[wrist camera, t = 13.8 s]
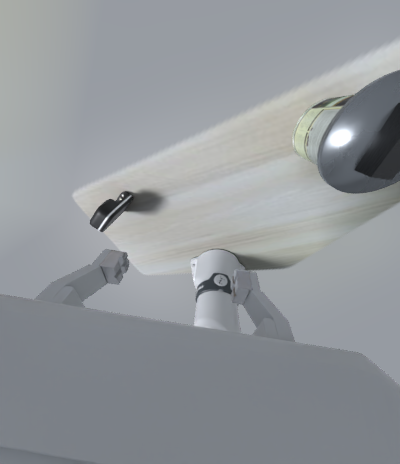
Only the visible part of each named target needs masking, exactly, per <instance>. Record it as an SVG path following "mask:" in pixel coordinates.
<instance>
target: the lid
mask: <svg viewBox="0 0 400 464" xmlns="http://www.w3.org/2000/svg"><path fill="white" fill-rule="evenodd" d="M317 165H318V170H319V173H320V175H321V177H322V178H323V179H324V181H325V182H326V183H328V184H329V185H330V186H332V187H334V188H335V189H337V190H339V191H342V192H346V193H366V192H371V191H376V190H379V189H382V188H385V187H387V186H390V185H392V184H394V183H396V182H398V181H400V70H398V71H395V72H392V73H389V74H387V75H385V76H383V77H381V78H379V79H377V80H375V81H373V82H372V83H370V84H369V85H367V86H365V87H364V88H363V89H361V90H360V91H359V92H358V93H356V94H355V95H354V96H353V97H352V98H351V99H350V100H348V101H347V102H346V103H345V105H344V106H343V107H342V108H341V109H340V110H339V111H338V112H337V114H336V115H335V116H334V118H333V119H332V121H331V122H330V124H329V125H328V127H327V129H326V130H325V132H324V134H323V137H322V139H321V142H320V145H319V148H318V154H317Z"/></svg>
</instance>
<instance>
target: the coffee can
mask: <svg viewBox="0 0 400 464" xmlns="http://www.w3.org/2000/svg"><path fill="white" fill-rule="evenodd" d="M353 96H354V95H350V96H344V97H338V98H328V99H324V100H322V101H319V102H317V103H316V104H314V105H313V106H311V107H310V108H309V109H308V110H307V111H306V112H305V113H304V114H303V115H302V116H301V118H300V119H299V121H298V122H297V124H296V127H295V129H294V132H293V138H292V143H293V148H294V150H295V152H296V153H297V154H298V155H299V156H300V157H301V158H304V159H307V160H308V161H310V162H312V163H314V164H316V165H317V154H318V148H319V145H320V142H321V139H322V137H323V134H324V132H325V130H326V129H327V127H328V125H329V124H330V122H331V121H332V119H333V118H334V116H335V115H336V114H337V112H338V111H339V110H340V109H341V108H342V107H343V106H344V105H345V103H346V102H347V101H348V100H350V99H351V98H352V97H353Z"/></svg>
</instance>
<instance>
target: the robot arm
mask: <svg viewBox="0 0 400 464" xmlns="http://www.w3.org/2000/svg"><path fill="white" fill-rule="evenodd" d="M127 256H128V255H127V253H126V252H121V251H115V250H109V249H105V250H104V251H103V252H102V253H101V254H100V255H99V257H98V258H97V259H96V260H95V261H94V262H93V263H92V265H88V266H85V267H83V268H81V269H79V270H77V271H75V272H73V273H71V274H69V275H66V276H64V277H62V278H60V279H58V280H56V281H54V282H52V283H51V284H50V285H49V286H48V287H47V288H45V290H44V291H42V292H41V293H40V294H39V295H38V296H37V297H36V299H27V298H22V297H16V296H10V295H4V294H0V464H400V385H399V384H397V383H396V382H395V381H394V380H393V379H392V378H391V377H390V376H388V375H387V374H386V373H385V372H384V371H383V370H382V369H380V368H379V367H378V366H377V365H376V364H375V363H373V362H372V361H371V360H369V359H368V358H367V357H366V356H364V355H363V354H360V353H358V352H353V351H347V350H340V349H334V348H327V347H322V346H316V345H308V344H303V343H297V342H295V340H294V337H293V334H292V331H291V328H290V325H289V322H288V320H287V319H286V318H285V317H284V316H283V314H282V313H281V312H280V311H279V310H278V309H277V308H276V307H275V305H274V304H273V303H272V302H271V301H270V300H269V299H268V297H267V296H266V295H265V294H264V293H263V292H261V291H260V286H259V282H258V278H257V274H256V272H251V271H245V267H244V266H243V265H242V264H240V263H239V261H238V259H237V258H236V257H235V256H234V255H233V254H232V253H230V252H228V251H225V250H218V249H215V250H209V251H206V252H204V253H203V254H201V255H200V256H198V257H196V258H193V259H191V269H192V275H193V281H194V286H195V287H196V290H197V291H196V303H197V305H196V312H195V320H194V326H193V325H187V324H181V323H174V322H169V321H162V320H156V319H150V318H144V317H137V316H132V315H125V314H120V313H113V312H107V311H101V310H95V309H89V308H85V306H84V305H83V303H82V301H84V300H85V299H86V298H88V297H89V296H91V295H92V294H94V293H95V292H96V291H98V290H99V289H100V288H102V287H103V286H104V285H106V284H107V283H111V284H119V283H120V281H121V280H122V278H123V274H124V273H126V272H127V270H128V267H129V260H128V259H127ZM238 304H242V305H243V306H244V308H245V309H246V311H247V313H248V314H249V316H250V318H251V319H252V321H253V323H254V324H255V326H256V327H257V329H256V330H255V332H254V333H253V334H252V335H247V334H242V333H241V328H240V322H239V315H238Z"/></svg>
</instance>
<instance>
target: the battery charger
mask: <svg viewBox="0 0 400 464" xmlns="http://www.w3.org/2000/svg"><path fill="white" fill-rule="evenodd" d="M132 200H133V197H132V195H130V194H128V193H127V192H122V193H121V194H120V196H119V197H118V199H117V200H116V201H114V200H112V199H109V200H106V201H105V202H104V203H103V204H102V205H101V206H99V207H98V209H97V210H96V212H95V213H94V215H93V217H92V218H91V220H90V224H91V225H92V226H93V227H94V228H96V229H98V231H101V232H103V231H105V230H106V229H107V228H108V227H109V226H110V225H111V224H112V223H113V222H114V221H115V220H116V219H117V218H118V217H119V216H120V215H121V214H122V213H123V212H124V210H125V209H126V208H127V206H128V205H129V204H130V202H131V201H132Z"/></svg>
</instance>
